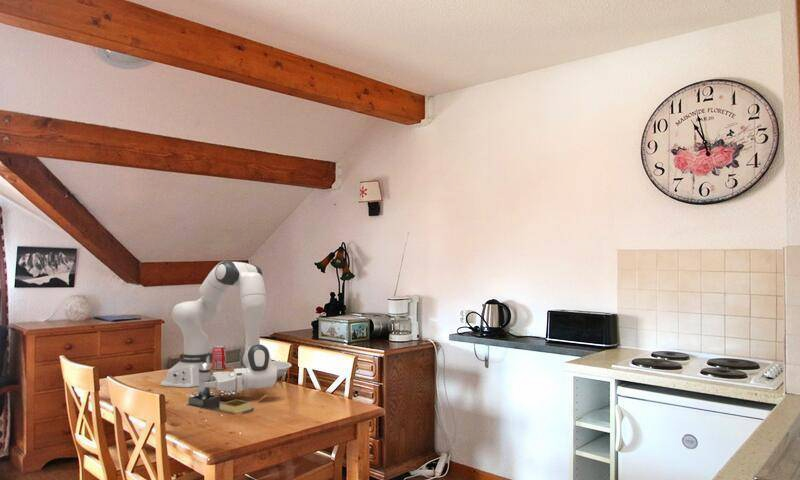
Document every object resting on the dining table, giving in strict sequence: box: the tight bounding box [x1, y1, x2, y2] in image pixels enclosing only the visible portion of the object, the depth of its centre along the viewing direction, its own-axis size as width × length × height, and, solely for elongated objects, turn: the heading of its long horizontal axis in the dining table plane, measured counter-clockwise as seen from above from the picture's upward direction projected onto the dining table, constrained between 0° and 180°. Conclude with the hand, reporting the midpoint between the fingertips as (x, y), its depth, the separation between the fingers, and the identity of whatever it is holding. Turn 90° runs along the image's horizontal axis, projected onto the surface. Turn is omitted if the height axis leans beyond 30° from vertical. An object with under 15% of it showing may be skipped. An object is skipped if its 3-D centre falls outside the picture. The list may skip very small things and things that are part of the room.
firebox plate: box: [186, 393, 255, 416], centre depth 224 cm, size 26×11×4 cm, turn 60°
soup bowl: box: [241, 360, 293, 379], centre depth 280 cm, size 24×24×7 cm
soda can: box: [211, 345, 227, 371], centre depth 302 cm, size 7×7×12 cm
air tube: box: [197, 361, 212, 400], centre depth 229 cm, size 5×5×16 cm
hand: (202, 382), depth 229 cm, fingers open, 8 cm apart
